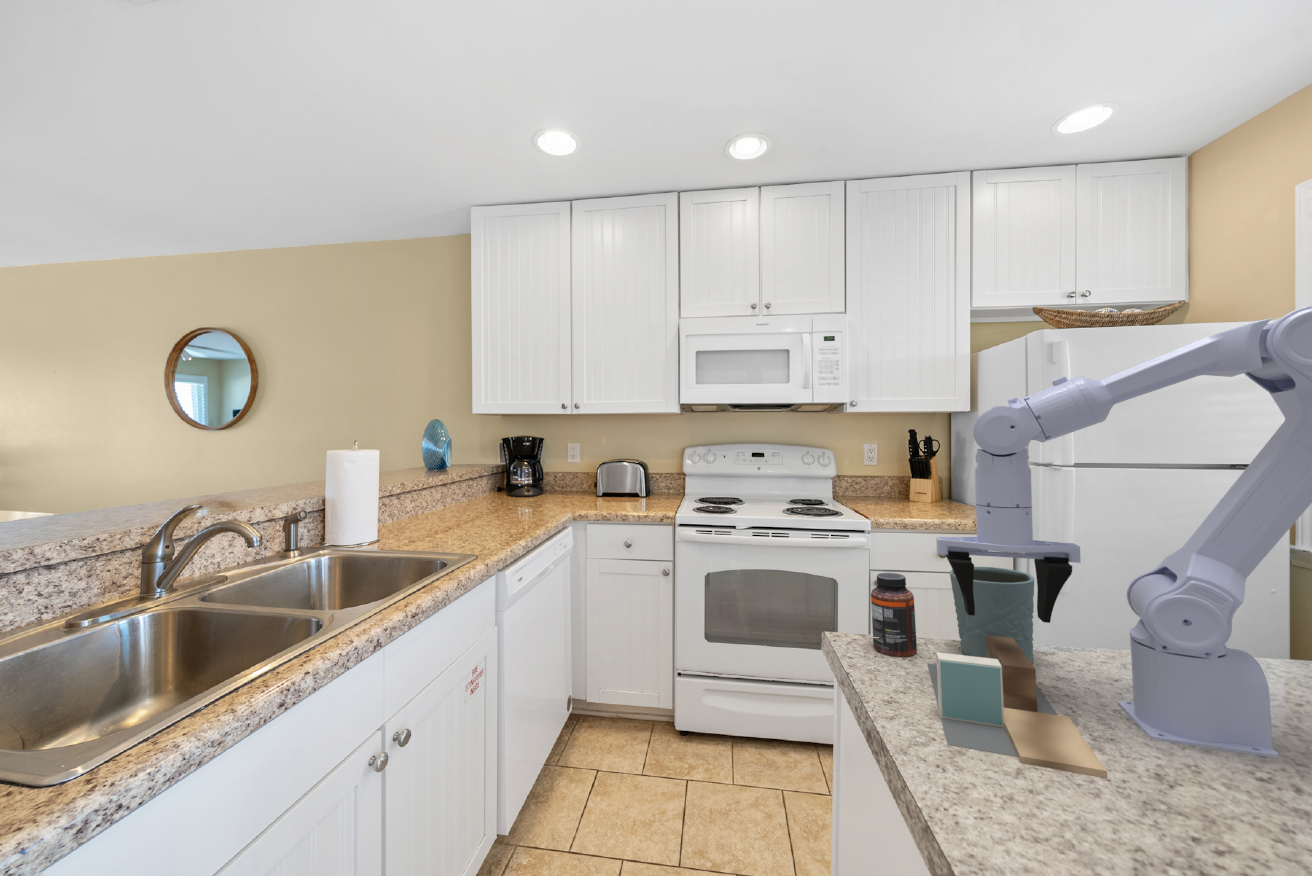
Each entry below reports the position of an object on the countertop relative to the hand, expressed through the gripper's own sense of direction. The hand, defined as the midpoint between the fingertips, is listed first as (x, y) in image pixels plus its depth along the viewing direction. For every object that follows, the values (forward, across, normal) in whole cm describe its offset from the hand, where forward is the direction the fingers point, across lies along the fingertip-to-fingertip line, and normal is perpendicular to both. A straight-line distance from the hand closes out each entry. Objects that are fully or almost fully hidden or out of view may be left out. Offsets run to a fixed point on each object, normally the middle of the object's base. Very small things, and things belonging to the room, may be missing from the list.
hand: (1006, 616), depth 63 cm
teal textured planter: (+10, -1, -12) cm, 15 cm away
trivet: (+9, -1, +11) cm, 14 cm away
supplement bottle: (+10, +12, -10) cm, 19 cm away
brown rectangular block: (+9, 0, 0) cm, 9 cm away
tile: (+9, +5, +8) cm, 14 cm away
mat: (+10, +2, +4) cm, 11 cm away
